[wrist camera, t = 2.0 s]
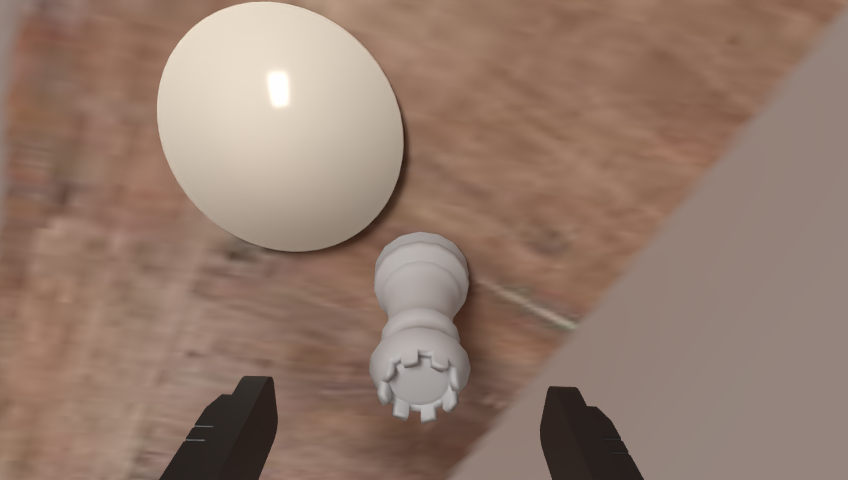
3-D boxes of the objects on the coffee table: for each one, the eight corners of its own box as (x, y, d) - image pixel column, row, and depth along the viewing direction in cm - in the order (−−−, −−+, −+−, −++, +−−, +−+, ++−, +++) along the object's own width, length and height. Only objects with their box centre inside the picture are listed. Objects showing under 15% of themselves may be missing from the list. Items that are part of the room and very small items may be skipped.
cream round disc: (141, -3, 15) (131, -5, 15) (406, 10, 15) (406, 8, 15) (189, 242, 19) (182, 247, 19) (401, 250, 19) (400, 255, 19)
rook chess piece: (487, 268, 20) (525, 388, 12) (424, 326, 21) (424, 466, 13) (418, 208, 18) (413, 300, 11) (356, 273, 20) (314, 395, 12)
